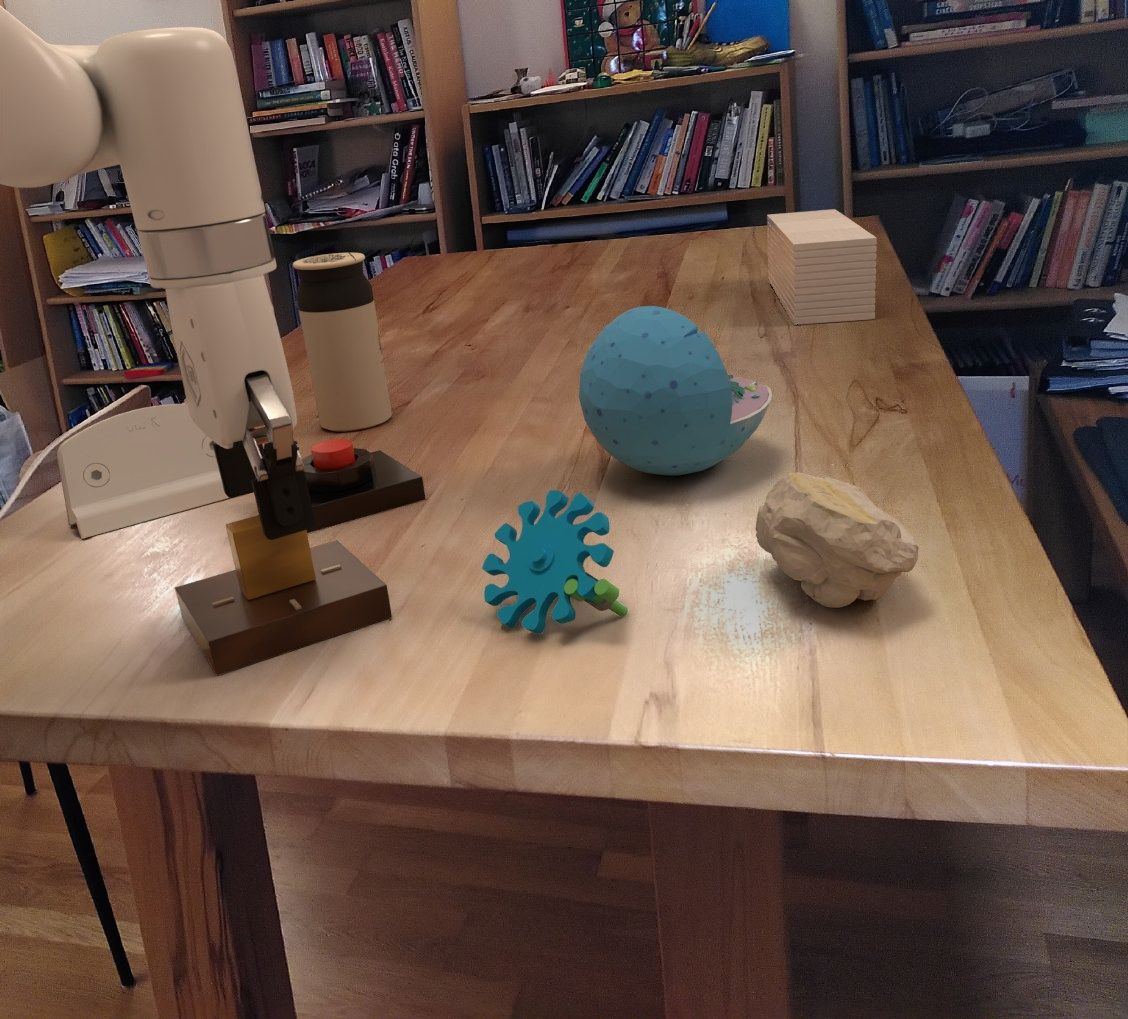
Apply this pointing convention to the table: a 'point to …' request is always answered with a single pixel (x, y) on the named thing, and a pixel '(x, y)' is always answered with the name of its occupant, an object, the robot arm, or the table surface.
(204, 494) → the hinge
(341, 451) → the button
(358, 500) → the alarm box
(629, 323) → the educational model
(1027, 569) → the table surface
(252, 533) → the yellow block
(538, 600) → the gear
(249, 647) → the plate
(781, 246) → the grooved wooden block
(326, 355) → the travel mug
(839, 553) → the beige rock
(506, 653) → the table surface
